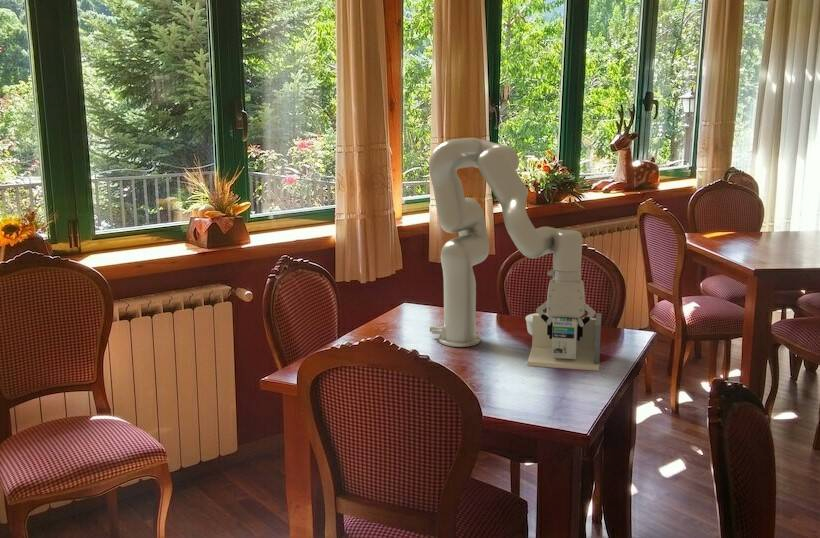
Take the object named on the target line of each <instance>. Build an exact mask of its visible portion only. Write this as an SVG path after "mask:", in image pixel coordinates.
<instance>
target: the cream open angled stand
mask: <svg viewBox="0 0 820 538" xmlns="http://www.w3.org/2000/svg"><path fill="white" fill-rule="evenodd" d="M548 317H549V316H548ZM552 323H553V320H552ZM595 325H596V317H595V318H593V317H592V318H591V319H590V320H589V321H588V322H587V323H586V324H585V325H584V326H583V336H582V337H580V341H578V340H577V352H576V359H566V358H552V339H549V335H547V324H546V322H545V321H544V320H543V319H542V318H541V317H540V315H533V333H532V335H531V336H532V339H531V340H532V343H531V344H532V345H531V349H530V353H529V355H528V359H527V366H528V367H541V368H557V369H570V370H581V371H582V370H584V371H585V370H586V371H600V364H599V365H598V364H594V350H595ZM577 327H578V321H577Z"/></svg>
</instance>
